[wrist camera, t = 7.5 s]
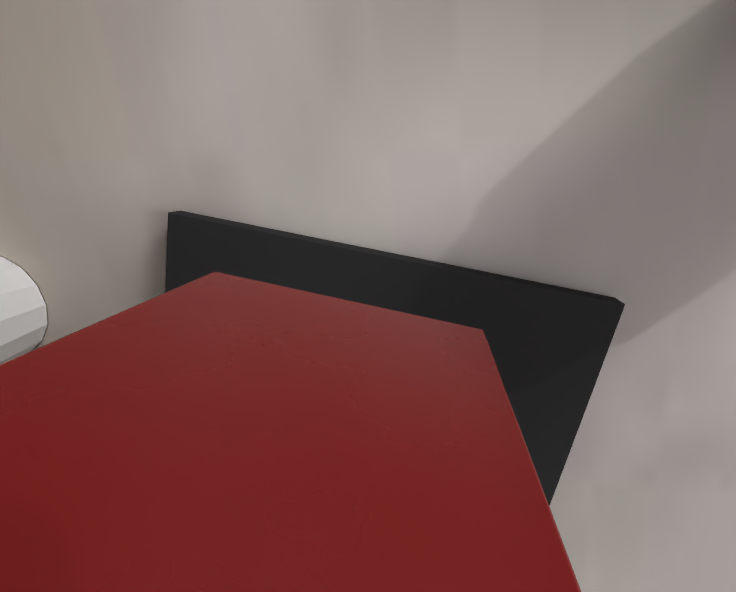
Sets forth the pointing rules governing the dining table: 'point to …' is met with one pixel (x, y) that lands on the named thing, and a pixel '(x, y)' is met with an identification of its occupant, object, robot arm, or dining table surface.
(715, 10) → the dining table surface
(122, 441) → the toaster
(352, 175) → the dining table surface
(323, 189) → the dining table surface
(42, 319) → the shot glass
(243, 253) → the placemat
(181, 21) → the dining table surface
